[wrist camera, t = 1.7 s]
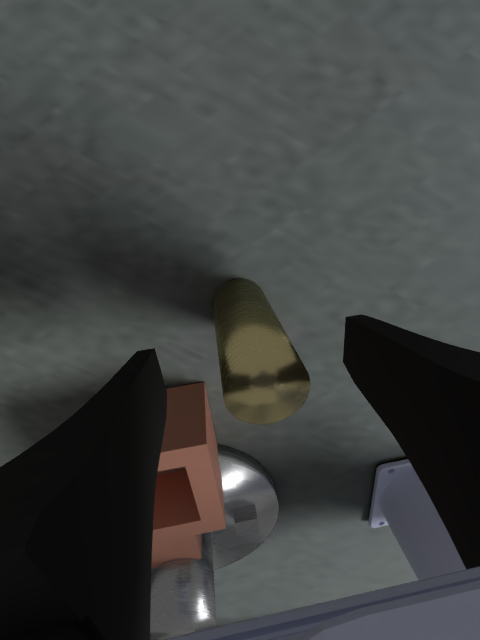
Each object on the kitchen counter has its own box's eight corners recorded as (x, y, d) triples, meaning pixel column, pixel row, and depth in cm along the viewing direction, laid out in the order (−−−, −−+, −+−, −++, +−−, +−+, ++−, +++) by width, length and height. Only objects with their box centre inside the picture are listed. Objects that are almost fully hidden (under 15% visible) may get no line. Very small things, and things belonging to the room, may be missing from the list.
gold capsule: (263, 274, 15) (310, 346, 9) (267, 323, 16) (310, 416, 10) (208, 282, 15) (217, 362, 9) (216, 331, 16) (229, 431, 10)
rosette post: (268, 425, 20) (300, 536, 14) (279, 540, 26) (304, 650, 20) (52, 464, 19) (-16, 602, 13) (117, 574, 25) (93, 700, 19)
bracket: (204, 382, 18) (206, 444, 14) (226, 487, 22) (232, 557, 18) (86, 402, 17) (52, 472, 13) (133, 505, 22) (119, 581, 18)
